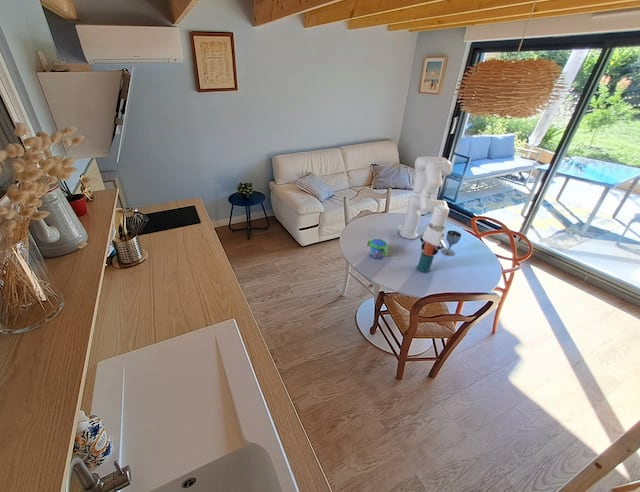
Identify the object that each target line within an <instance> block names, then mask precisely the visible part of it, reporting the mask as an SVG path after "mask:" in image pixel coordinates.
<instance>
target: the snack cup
mask: <svg viewBox="0 0 640 492" xmlns="http://www.w3.org/2000/svg"><path fill="white" fill-rule="evenodd" d="M366 246H367V247H370V249H369V250H370V257H372V258H374V259H381V258H382V257H384V258H386V257H388V256H389V249H388V243H387V241H385V240H383V239H382V238H373V239H370V240H368V241H367V244H366ZM384 253H385V254H384Z"/></svg>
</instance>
